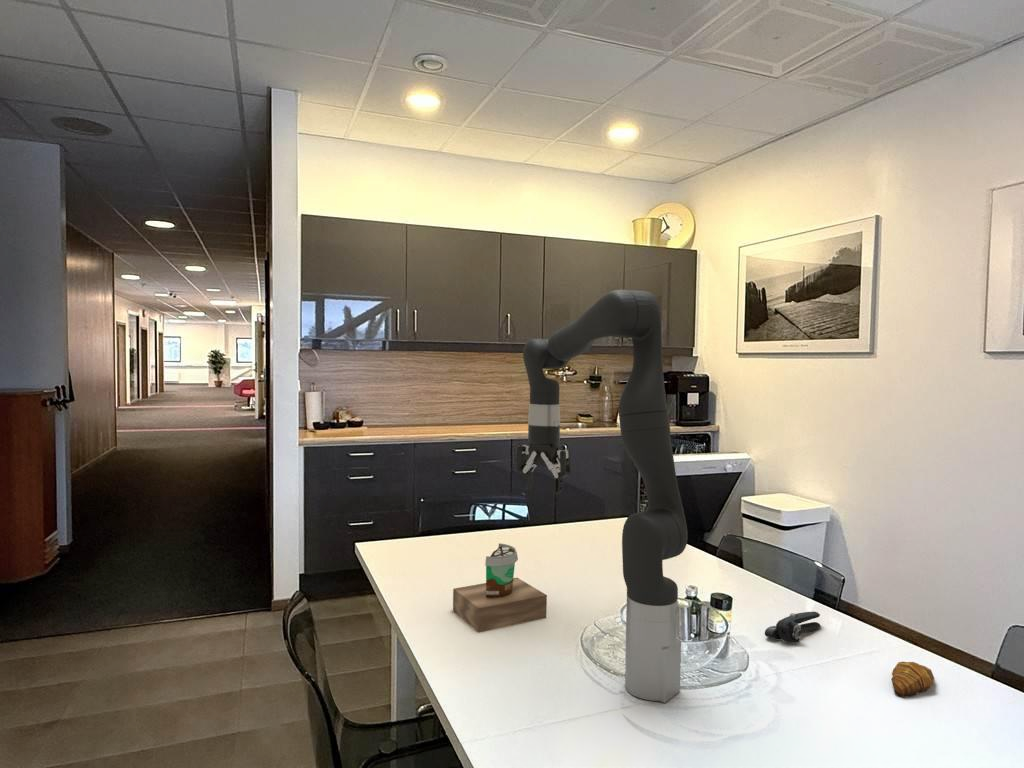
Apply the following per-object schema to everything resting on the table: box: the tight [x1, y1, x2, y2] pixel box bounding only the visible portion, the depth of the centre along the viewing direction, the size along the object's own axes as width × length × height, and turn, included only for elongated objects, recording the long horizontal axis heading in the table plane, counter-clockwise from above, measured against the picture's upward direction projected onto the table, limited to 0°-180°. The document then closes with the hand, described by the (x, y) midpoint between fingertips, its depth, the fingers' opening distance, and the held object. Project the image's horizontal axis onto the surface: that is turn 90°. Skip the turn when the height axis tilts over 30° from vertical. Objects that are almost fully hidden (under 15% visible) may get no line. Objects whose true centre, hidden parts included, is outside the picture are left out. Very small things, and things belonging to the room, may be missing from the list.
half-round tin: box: [484, 543, 519, 598], centre depth 150 cm, size 12×6×10 cm, turn 166°
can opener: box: [764, 611, 821, 644], centre depth 142 cm, size 18×7×6 cm, turn 125°
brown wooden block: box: [452, 577, 548, 633], centre depth 151 cm, size 14×18×6 cm
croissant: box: [890, 661, 935, 698], centre depth 119 cm, size 14×7×5 cm, turn 127°
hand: (543, 491), depth 149 cm, fingers open, 8 cm apart
